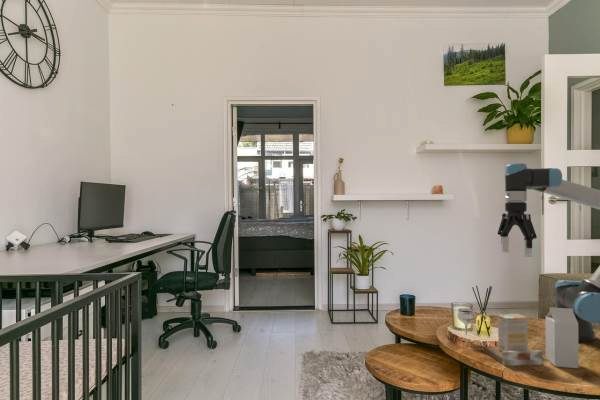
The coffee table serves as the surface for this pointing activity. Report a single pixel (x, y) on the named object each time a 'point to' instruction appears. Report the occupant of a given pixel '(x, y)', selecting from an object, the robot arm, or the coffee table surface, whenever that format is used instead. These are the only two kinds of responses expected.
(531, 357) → the grey flat box
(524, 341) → the supplement box
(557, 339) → the milk carton
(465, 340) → the coffee table surface
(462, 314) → the wineglass
